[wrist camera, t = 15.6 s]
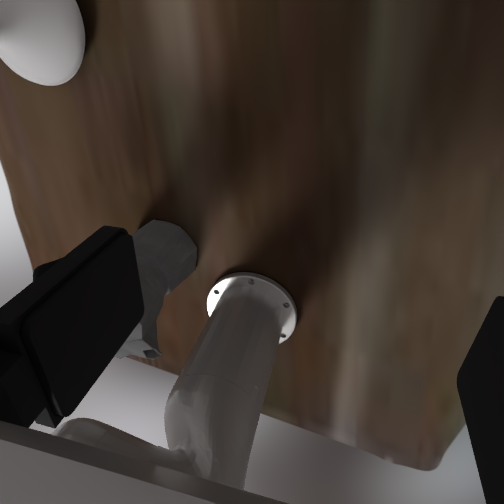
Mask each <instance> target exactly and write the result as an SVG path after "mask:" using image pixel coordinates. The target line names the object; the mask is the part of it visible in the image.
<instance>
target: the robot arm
mask: <svg viewBox="0 0 504 504" xmlns="http://www.w3.org/2000/svg"><path fill="white" fill-rule="evenodd" d="M144 309H145V308H144V301H143V295H142V289H141V283H140V277H139V271H138V266H137V260H136V254H135V248H134V242H133V238H132V236H131V235H129V234H128V232H127V231H126V230H125V229H124V228H118V227H112V226H103V227H101V228H100V229H98V230H97V231H96V232H95V233H93V234H92V235H91V236H90V237H88V238H87V239H86V240H85V241H83V242H82V243H81V244H80V245H78V246H77V247H76V248H75V249H73V250H72V251H71V252H70V253H68V254H67V255H66V256H65V257H63V258H62V259H61V260H60V261H58V262H57V263H56V264H55V265H53V266H52V267H51V268H50V269H48V270H47V271H46V272H45V273H43V274H42V275H41V276H40V277H38V278H37V279H36V280H35V281H33V282H32V283H31V284H30V285H28V286H27V287H26V288H25V289H24V290H22V291H21V292H20V293H18V294H17V295H16V296H15V297H13V298H12V299H11V300H10V301H8V302H7V303H6V304H5V305H3V306H2V307H1V308H0V504H288V503H284V502H281V501H277V500H274V499H271V498H267V497H264V496H260V495H257V494H254V493H250V492H247V491H244V485H245V479H246V473H247V468H248V462H249V458H250V453H251V449H252V445H253V440H254V436H255V432H256V429H257V425H258V421H259V416H260V412H261V409H262V405H263V401H264V397H265V393H266V390H267V386H268V382H269V378H270V374H271V371H272V367H273V363H274V359H275V355H276V352H277V348H278V344H280V343H282V342H283V341H285V340H286V339H288V338H289V336H290V335H291V334H292V333H293V331H294V329H295V325H296V322H297V308H296V306H295V303H294V301H293V299H292V297H291V296H290V294H289V293H288V292H287V291H286V290H285V289H284V288H283V287H282V286H281V285H280V284H278V283H277V282H275V281H274V280H272V279H270V278H268V277H265V276H263V275H260V274H256V273H251V272H238V273H232V274H229V275H226V276H224V277H222V278H221V279H219V280H218V281H217V282H216V283H215V284H214V285H213V287H212V288H211V290H210V292H209V294H208V298H207V310H208V313H209V316H210V317H209V319H208V321H207V323H206V325H205V327H204V328H203V330H202V332H201V334H200V336H199V338H198V340H197V342H196V344H195V346H194V348H193V350H192V352H191V354H190V355H189V357H188V359H187V361H186V363H185V365H184V367H183V369H182V371H181V373H180V375H179V377H178V379H177V381H176V383H175V385H174V386H173V389H172V390H171V393H170V394H169V397H168V400H167V403H166V407H165V415H164V419H165V432H166V437H167V442H168V447H169V450H168V449H165V448H163V447H160V446H155V445H153V444H151V443H149V442H146V441H144V440H142V439H140V438H137V437H135V436H133V435H131V434H128V433H126V432H124V431H121V430H119V429H117V428H115V427H112V426H110V425H108V424H105V423H102V422H100V421H97V420H94V419H89V418H76V419H72V420H69V421H67V422H65V423H63V424H62V425H61V426H59V427H58V428H57V429H56V430H55V431H54V432H53V433H52V434H47V433H44V432H41V431H37V430H33V429H29V427H30V425H31V424H32V423H33V422H34V421H36V423H38V424H41V425H45V426H48V427H52V428H56V427H57V425H58V424H59V423H60V422H61V420H62V419H63V418H64V417H67V416H69V415H71V414H72V412H73V411H74V410H75V409H76V407H77V406H78V405H79V403H80V402H81V401H82V399H83V398H84V396H85V395H86V394H87V392H88V391H89V390H90V388H91V387H92V385H93V384H94V383H95V382H96V380H97V379H98V377H99V376H100V375H101V374H102V372H103V371H104V369H105V368H106V367H107V365H108V364H109V363H110V361H111V360H112V359H113V357H114V356H115V355H116V353H117V352H118V351H119V349H120V348H121V346H122V345H123V344H124V342H125V341H126V340H127V338H128V337H129V336H130V334H131V333H132V332H133V330H134V329H135V327H136V326H137V325H138V323H139V322H140V321H141V319H142V317H143V315H144ZM457 388H458V392H459V396H460V400H461V404H462V408H463V412H464V416H465V420H466V424H467V428H468V432H469V435H470V439H471V444H472V448H473V452H474V456H475V460H476V464H477V468H478V472H479V476H480V480H481V484H482V488H483V492H484V496H485V500H486V504H504V297H503V296H498V297H497V298H496V299H495V300H494V302H493V304H492V306H491V308H490V310H489V312H488V314H487V316H486V318H485V320H484V322H483V324H482V326H481V328H480V330H479V332H478V334H477V336H476V338H475V340H474V342H473V344H472V346H471V348H470V350H469V352H468V354H467V356H466V358H465V360H464V362H463V364H462V366H461V368H460V370H459V372H458V376H457Z"/></svg>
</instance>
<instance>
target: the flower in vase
mask: <svg viewBox="0 0 504 504" xmlns="http://www.w3.org/2000/svg"><path fill="white" fill-rule="evenodd" d="M84 50H85V30H84V24H83V19H82V16H81V13H80V10H79V7H78V5H77V2H76V0H0V58H1V59H2V60H3V61H4V62H5V64H7V65H8V66H9V67H10V68H11V69H12V70H13V71H14V72H16V73H17V74H18V75H20V76H21V77H23V78H25V79H27V80H29V81H32V82H35V83H38V84H41V85H46V86H55V85H60V84H63V83H65V82H67V81H69V80H70V79H71V78H72V77H73V76H74V75H75V74H76V73H77V71H78V69H79V67H80V65H81V63H82V60H83V55H84Z"/></svg>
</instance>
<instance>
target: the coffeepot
mask: <svg viewBox="0 0 504 504" xmlns="http://www.w3.org/2000/svg"><path fill="white" fill-rule="evenodd" d="M132 238H133V242H134V248H135V254H136V260H137V266H138V271H139V277H140V283H141V289H142V295H143V301H144V308H145V309H144V315H143V317H142V319H141V321H140V322H139V323H138V325H137V326H136V327H135V329H134V330H133V332H132V333H131V334H130V336H129V337H128V338H127V340H126V341H125V342H124V344H123V345H122V346H121V348H120V349H119V351H118V352H117V353H116V355H115V356H114V357H117V358H120V359H121V358H123V357H126V356H128V355H131V354H133V355H136V356H139V357H143V358H146V359H147V358H150V359H155V358H158V357H159V356H160V355H161V354H162V353H161V352H160V350H159V348H158V341H157V326H156V319H157V317H158V315H159V312H160V310H161V308H162V306H163V297H164V296H165V295H167V294H169V293H170V292H171V291H172V290H173V289H175V288H176V287H177V286H178V285H179V284H180V283H181V282H182V281H183V280H184V279H186V278H187V277H188V276H189V275H190V274H191V273H192V272H193V271H194V270H195V268H196V261H197V247H196V245H195V244H194V242H193V241H192V239H191V238H190V236H189V235H188V234H187V233H186V232H185V231H184V230H183V229H182V228H181V227H180V226H178V225H175V224H173V223H170V222H166V221H158V220H155V219H154V220H152V221H150V222H149V223H147V224H146V225H144V226H143V227H141V228H140V229H138V230H137V231H136V232H135V233H134V235H133V237H132ZM61 259H62V258H61ZM61 259H58V260H55V261H52V262H49V263H45V264H43V265H40V266H38V267H37V268H36V269H35V270H34V273H33V281H35V280H36V279H37V278H38V277H40V276H41V275H42V274H43V273H45V272H46V271H47V270H48V269H50V268H51V267H52V266H53V265H55V264H56V263H57V262H58V261H60V260H61Z"/></svg>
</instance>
